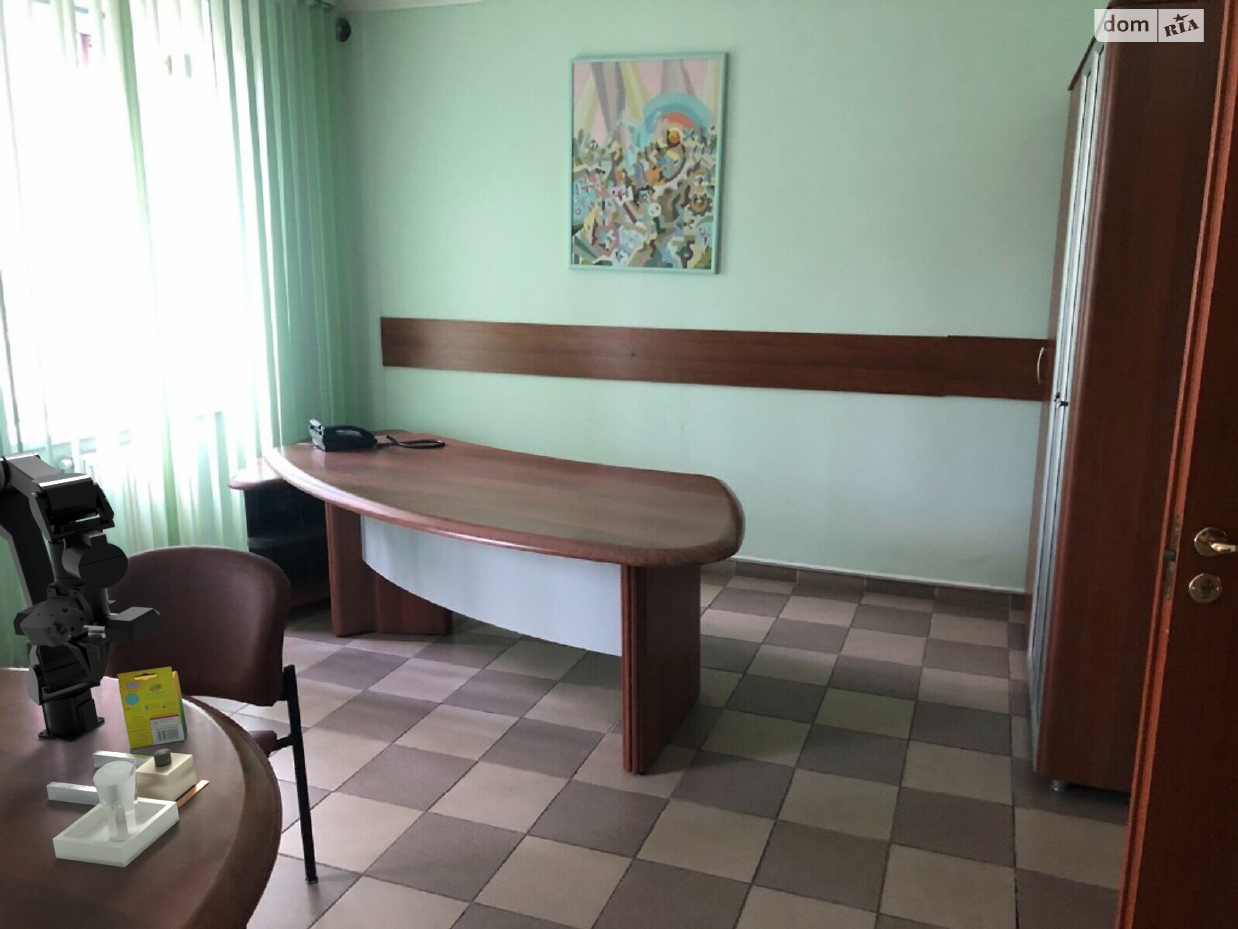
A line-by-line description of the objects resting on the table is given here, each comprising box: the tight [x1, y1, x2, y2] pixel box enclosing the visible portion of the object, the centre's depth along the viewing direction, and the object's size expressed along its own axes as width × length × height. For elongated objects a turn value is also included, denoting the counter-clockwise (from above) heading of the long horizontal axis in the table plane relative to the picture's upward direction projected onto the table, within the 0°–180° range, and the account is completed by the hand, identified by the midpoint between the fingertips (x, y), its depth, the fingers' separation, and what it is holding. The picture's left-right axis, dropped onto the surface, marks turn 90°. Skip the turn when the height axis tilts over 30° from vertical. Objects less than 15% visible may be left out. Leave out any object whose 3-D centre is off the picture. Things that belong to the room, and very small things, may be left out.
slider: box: [136, 748, 198, 802], centre depth 127 cm, size 5×5×6 cm
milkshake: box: [92, 760, 140, 841], centre depth 116 cm, size 4×5×10 cm
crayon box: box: [117, 666, 188, 750], centre depth 139 cm, size 7×3×12 cm, turn 105°
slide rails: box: [46, 750, 210, 809], centre depth 128 cm, size 18×9×2 cm, turn 76°
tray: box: [52, 796, 180, 868], centre depth 117 cm, size 10×10×2 cm
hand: (97, 680), depth 131 cm, fingers closed
